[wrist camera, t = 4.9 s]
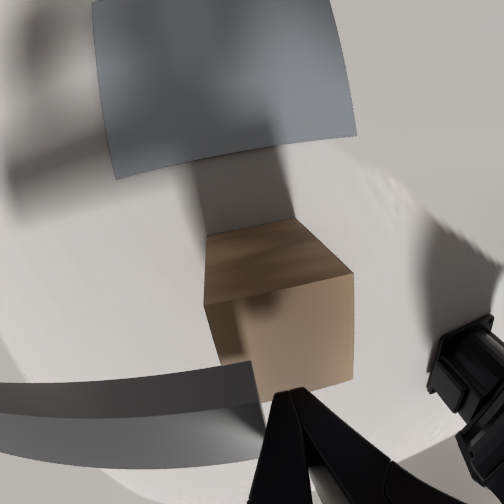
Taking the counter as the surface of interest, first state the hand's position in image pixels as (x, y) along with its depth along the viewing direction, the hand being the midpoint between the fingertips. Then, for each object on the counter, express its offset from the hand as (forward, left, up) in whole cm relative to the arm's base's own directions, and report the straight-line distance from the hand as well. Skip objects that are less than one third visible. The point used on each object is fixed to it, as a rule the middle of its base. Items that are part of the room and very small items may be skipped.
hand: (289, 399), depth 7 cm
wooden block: (-1, 0, -9) cm, 9 cm away
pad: (-1, -11, -9) cm, 14 cm away
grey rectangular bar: (+6, 0, -1) cm, 6 cm away
